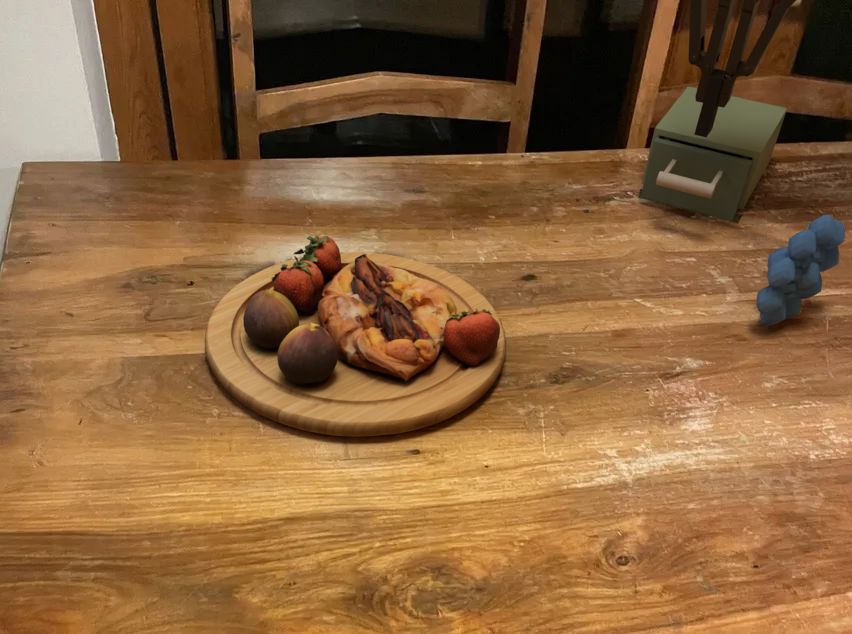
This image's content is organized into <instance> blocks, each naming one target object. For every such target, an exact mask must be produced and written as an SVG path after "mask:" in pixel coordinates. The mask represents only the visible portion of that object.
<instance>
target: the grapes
mask: <svg viewBox="0 0 852 634" xmlns="http://www.w3.org/2000/svg"><path fill="white" fill-rule="evenodd" d="M835 218H836V217H834V216H833V215H832V214H823V215H821V216H819V217H817V218H816V219H814V220H812V221H811V222H809V223H808V227H807V229H803V230H800V231H798V232H797V233H795V234H793V235H792V236H790V237H789V238H788V241H787V246H782V247H779V248H777V249H776V250H774V251H772V252H771V253H769V254H768V256H767V265H766V267H767V273H766V274H767V275H766V279H767V282H768V286H766V287H763V288H762V289H760V290H759V291H757V294H756V302H755V303H756V307H757V308H756V309H757V311H758V312H759V318H760V323H761V325H763V326H765V327H772V326H774V325H776V324H779V323H781V322H782V321H787V320H790V319H792V318H794V317H796V316H798V315H799V314H801V312H802V304H803V303H802V302H803V301H802V300H808V299H810V298H813V297H814V296H816V295H818V294H820V293H821V292H822V287H823V277H822V274H821V273H824V272H826V271H828V270H831V269H832V268H834V267H836V266H837V265H838V264H839V260H840V249H839V246H841V245H842V244H844V243H845V238H846V228H845V224H844V223H843V222H842V221H841V220H839V219H835Z"/></svg>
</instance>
